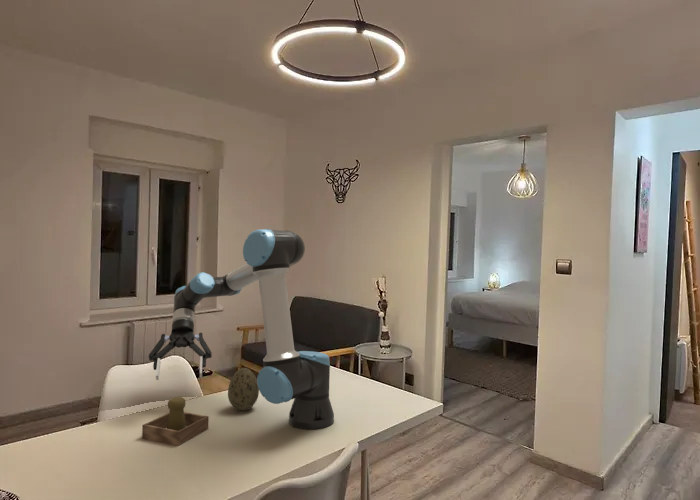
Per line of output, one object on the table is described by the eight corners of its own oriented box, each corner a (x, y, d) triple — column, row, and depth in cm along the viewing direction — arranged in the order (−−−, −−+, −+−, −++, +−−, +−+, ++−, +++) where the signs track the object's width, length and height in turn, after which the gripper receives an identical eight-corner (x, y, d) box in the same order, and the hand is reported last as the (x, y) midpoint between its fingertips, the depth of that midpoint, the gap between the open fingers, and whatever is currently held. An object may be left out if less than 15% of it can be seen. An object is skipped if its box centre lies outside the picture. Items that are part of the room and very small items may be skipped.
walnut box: (208, 428, 146) (208, 416, 146) (178, 445, 133) (178, 432, 133) (174, 422, 150) (174, 410, 150) (142, 438, 138) (142, 425, 138)
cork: (190, 431, 143) (191, 396, 143) (176, 439, 138) (176, 402, 138) (176, 428, 146) (176, 394, 146) (161, 435, 140) (161, 399, 140)
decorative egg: (247, 416, 157) (248, 373, 157) (221, 412, 160) (222, 369, 160) (264, 406, 167) (264, 365, 167) (238, 402, 170) (239, 362, 170)
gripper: (218, 328, 172) (218, 379, 158) (146, 331, 165) (139, 384, 151) (219, 316, 167) (218, 368, 153) (144, 318, 160) (137, 372, 146)
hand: (179, 376), depth 152 cm, fingers open, 13 cm apart
